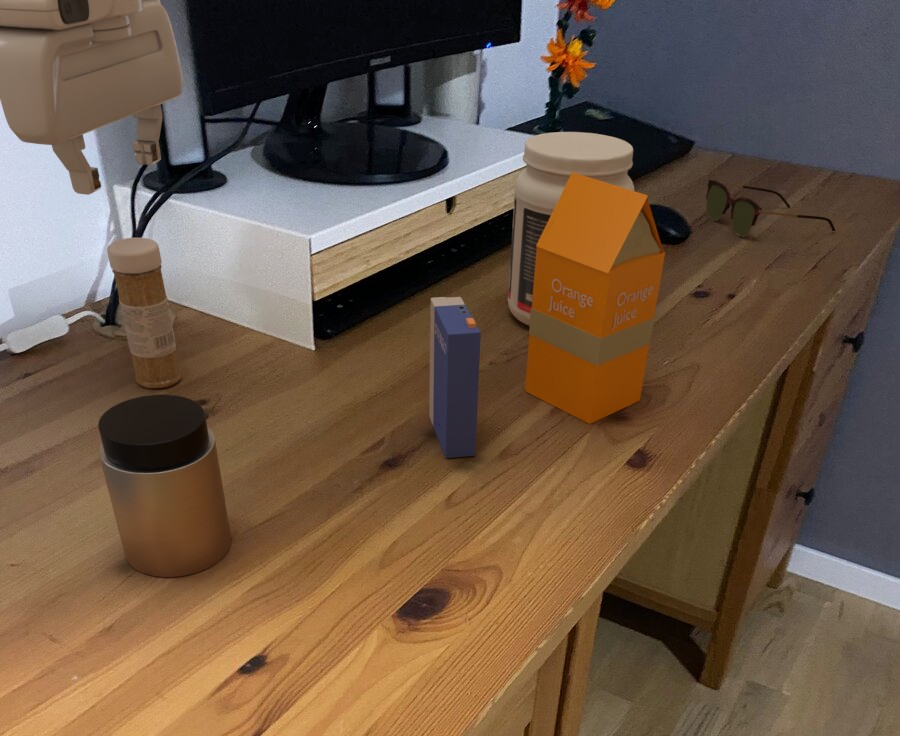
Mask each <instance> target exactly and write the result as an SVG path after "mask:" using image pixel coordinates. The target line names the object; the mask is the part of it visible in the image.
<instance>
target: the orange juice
mask: <svg viewBox="0 0 900 736" xmlns="http://www.w3.org/2000/svg"><path fill="white" fill-rule="evenodd" d="M648 196H649V195H648V194H644V193H642V192H638V191H636V190H635V191H632V190H628V189H625V188H622V187H619V186H615V185H612V184H609V183H606V182H602V181H599V180H596V179H593V178H589V177H586V176H583V175H580V174H576V173H573V172H572V174H571V176H570V178H569V180H568V182H567V184H566V186H565V188H564V190H563V192H562V194H561V196H560V198H559V200H558V202H557V204H556V206H555V208H554V210H553V212H552V214H551V216H550V218H549V221H548V223H547V225H546V227H545V229H544V231H543V233H542V235H541V237H540V239H539V241H538V243H537V245H536V246H537V250H536V262H535V274H534V286H533V298H532V308H531V315H530V326H529V328H528V329H529V330H528V335H529V336H528V346H527V347H528V349H527V360H526V372H525V385H524V392H525V393H528V394H529V395H531V396H534V397H536V398H538V399H539V400H542V401H544V402H545V403H547V404H549V405H551V406H553V407H555V408H556V409H559V410H560V411H562V412H565V413H567V414H569V415H571V416H573V417H575V418H577V419H578V420H580V421H582V422H584V423H586V424H588V425H590V424H593V423H595V422H597V421H600V420H602V419H604V418H606V417H608V416H610V415H612V414H615V413H616V412H618V411H621V410H623V409H625V408H627V407H630V406H631V405H635V404H636V403H638V402H640V401H641V396H642V391H643V384H644V379H645V373H646V367H647V361H648V356H649V350H650V344H651V341H652V336H653V330H654V324H655V314H656V308H657V303H658V296H659V291H660V287H661V281H662V274H663V267H664V262H665V258H666V252H664V248H663V245H662V243H661V239H660V235H659V232H658V229H657V225H656V223H655V219H654V216H653V213H652V212H653V211H652V209H651V206H650V203H649V198H648Z"/></svg>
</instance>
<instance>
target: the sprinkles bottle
mask: <svg viewBox="0 0 900 736" xmlns="http://www.w3.org/2000/svg"><path fill="white" fill-rule="evenodd" d="M106 252H107V258H108V262H109V266H110V268H111V270H112V273H113V276H114V280H115V284H116V288H117V295H118V301H119V306H120V312H121V315H122V321H123V325H124V330H125V335H126V339H127V344H128V348H129V352H130V354H131V359H132V363H133V368H134V373H135V375H134V377H135V381H136V383H137V384H138V385H139V386H141V387H144V388H147V389H163V388H169V387H171V386H174V385H175V384H177V383H178V382H179V381H180V380H181V379H182V371H181V369H180V366H179V360H178V353H177V350H176V349H177V343H176V339H175V333H174V327H173V321H172V315H171V310H170V304H169V298H168V296H167V294H166V288H165V283H164V279H163V273H162V262H163V261H162V256H161V251H160V247H159V244H158V243H157V242H156V241H155V240H154V239H151V238H147V237H126V238H121V239H117V240H114V241H112V242H111V243H109V244H108V246H107V248H106Z"/></svg>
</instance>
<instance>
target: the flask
mask: <svg viewBox="0 0 900 736" xmlns="http://www.w3.org/2000/svg"><path fill="white" fill-rule="evenodd" d="M97 428H98V433H99V436H100V440H101V443H100V445H99V448H98V456H99V460H100V464H101V468H102V471H103V472H102V473H103V476H104V480H105V484H106V487H107V492H108V494H109V499H110V503H111V506H112V510H113V514H114V518H115V522H116V526H117V530H118V534H119V538H120V542H121V546H122V550H123V553H124V556H125V560H126V561H127V563H128V565H130V566H131V567H132V568H133V569H135V570H136V571H138V572H140V573H143V574H145V575H148V576H152V577H158V578H180V577H185V576H190V575H193V574H197V573H200V572H202V571H205V570H208V569H209V568H211V567H213V566H214V565H216V564H217V563H219V562H220V561H221V560H222V559H223V558H224V557H225V556H226V555H227V553H228V552H229V550H230V548H231V545H232V534H231V529H230V522H229V517H228V510H227V504H226V498H225V497H226V496H225V492H224V486H223V485H224V484H223V479H222V473H221V467H220V461H219V460H220V459H219V455H218V449H217V448H218V447H217V442H216V436H215V434H214V432H213V431H212V429H211V428H210V427H209V426H208V422H207V417H206V411H205V409H204V407H203V406H202V405H201V404H200V403H198V401H195V400H193V399H191V398H189V397H185V396H181V395H175V394H149V395H143V396H142V395H141V396H137V397H133V398H130V399H126V400H124V401H121V402H118V403H117V404H115V405H113V406H112V407H110V408H108V409H107V410H106V411H105V412H104V413H102V415H101V416H100V418H99V420H98V424H97Z"/></svg>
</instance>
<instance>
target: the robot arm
mask: <svg viewBox="0 0 900 736" xmlns="http://www.w3.org/2000/svg"><path fill="white" fill-rule="evenodd" d="M176 41H177V40H176V38H175V33H174V29H173V26H172V22H171V19H170V16H169V13H168V12H167V10H166V8H165V7H164V6H163V5H162V3H161V0H0V104H1V108H2V110H3V111H2V112H3V114H4V117H5V120H6V123H7V125H8V127H9V129H10V130H11V132H12V133H13V134H14V135H15V136H16V137H17V139H19V140H20V141H21V142H23V143H25V144H26V143H27V144H33V145H43V146H44V145H46V146H51V148H52V151H53V153H54V154H55V155H56V157H57V158H58V160H59V161H60V162H61V164H62V165H63V167H64V168H65V169H66V170H67V171H68V174H69V178H70V179H69V180H70V183H71V187H72V189H73V191H74V192H75V193H76V194H78V195H86V196H89V195H92V194H94V193H95V192H97V191H99V190H101V188H102V182H101V180H100V172H99V168H98V167H94V166H91V165H90V164H89V162H88V160H87V158H86V156H85V155H84V153H83V150H85V149H86V143H85V138H84V135H85V134H87V133H90V132H93V131H95V130H98V129H101V128H103V127H105V126H109V125H111V124H114V123H116V122H119V121H121V120H123V119H126V118H128V117H131V116H133V118H134V119H136V120H137V121H136V123H137V124H136V140H134V141H133V142H132V148H133V153H134V158H135V162H136V163H137V164H139V165H146V166H152V165H154V164H157V163H159V162H160V161H161V160H162V153H161V148H160V147H161V146H160V143H159V140H160V137H161V130H162V124H163V118H164V117H163V111H162V106H161V105H162V104H165V103H167V102H169V101H172V100H174V99H177V98H179V97H181V95H182V92H183V88H184V87H183V85H184V76H183V75H184V74H183V68H182V65H181V60H180V54H179V50H178V46H177V42H176Z"/></svg>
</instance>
